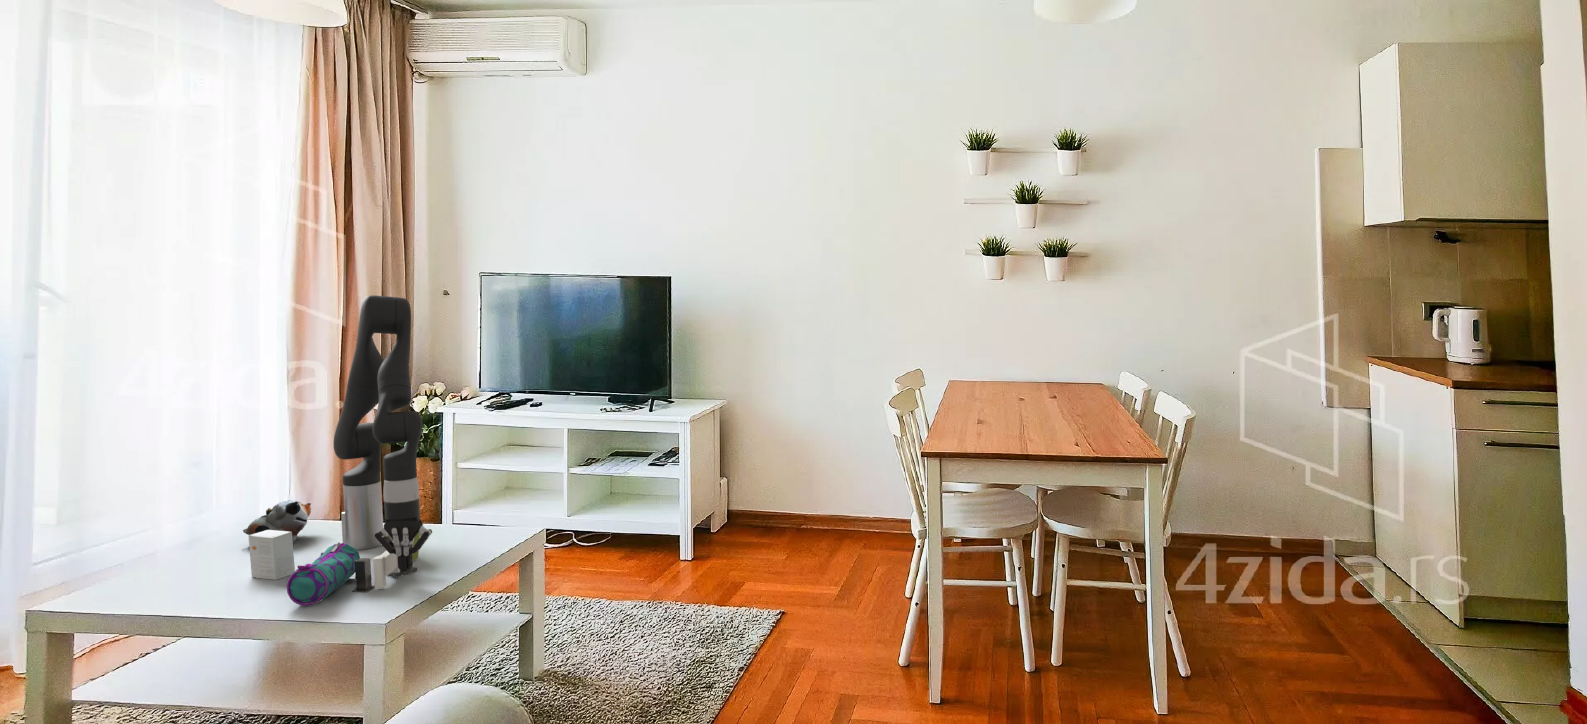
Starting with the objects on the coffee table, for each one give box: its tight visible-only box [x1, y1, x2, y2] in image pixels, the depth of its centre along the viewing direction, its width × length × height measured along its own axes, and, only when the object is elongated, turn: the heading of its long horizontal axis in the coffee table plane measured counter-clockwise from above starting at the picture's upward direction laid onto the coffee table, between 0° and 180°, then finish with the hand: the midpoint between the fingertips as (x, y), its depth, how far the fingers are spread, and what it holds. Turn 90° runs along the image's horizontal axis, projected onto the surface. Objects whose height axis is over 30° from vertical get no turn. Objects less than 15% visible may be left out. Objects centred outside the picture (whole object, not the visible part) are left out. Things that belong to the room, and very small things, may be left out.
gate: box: [372, 541, 400, 590], centre depth 212 cm, size 11×2×8 cm, turn 5°
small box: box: [248, 530, 296, 581], centre depth 219 cm, size 8×6×10 cm
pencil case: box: [286, 541, 361, 607], centre depth 206 cm, size 21×9×10 cm, turn 7°
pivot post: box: [386, 537, 419, 579], centre depth 220 cm, size 6×6×11 cm
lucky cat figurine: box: [242, 499, 312, 543], centre depth 249 cm, size 15×12×14 cm
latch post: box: [351, 557, 375, 593], centre depth 208 cm, size 4×4×7 cm
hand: (405, 570), depth 210 cm, fingers closed
